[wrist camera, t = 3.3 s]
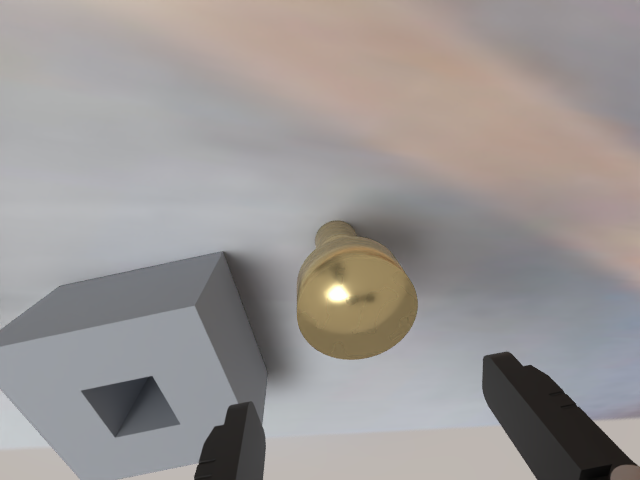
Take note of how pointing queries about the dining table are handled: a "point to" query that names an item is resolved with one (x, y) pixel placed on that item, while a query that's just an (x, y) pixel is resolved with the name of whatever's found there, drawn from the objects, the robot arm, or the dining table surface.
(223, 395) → the slate block
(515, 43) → the dining table surface
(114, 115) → the dining table surface
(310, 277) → the brass knob
